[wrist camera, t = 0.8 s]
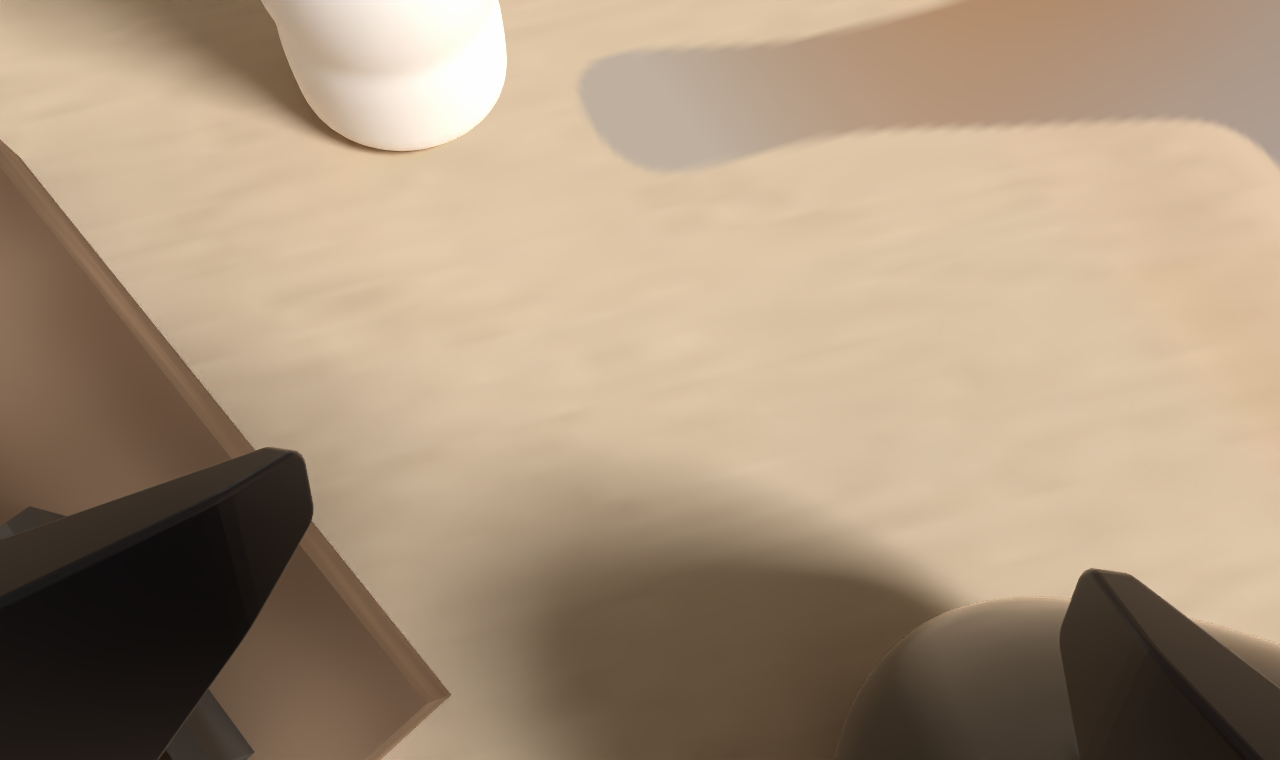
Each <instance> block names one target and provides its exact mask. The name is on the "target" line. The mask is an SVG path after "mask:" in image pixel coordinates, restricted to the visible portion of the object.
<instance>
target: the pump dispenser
mask: <svg viewBox="0 0 1280 760" xmlns="http://www.w3.org/2000/svg"><path fill="white" fill-rule="evenodd" d="M1070 601H1071V599H1070V598H1059V597H1012V598H1002V599H994V600H987V601H982V602H977V603H972V604H968V605H965V606H961V607H958V608H955V609H952V610H950V611H947V612H945V613H942V614H940V615H938V616H936V617H934V618H932V619H930V620H928V621H927V622H925V623H923V624H921V625H920V626H918V627H917V628H915V629H914V630H913V631H911V632H910V633H908V634H907V635H906V636H905V637H903V638H902V639H901V640H900V641H899V642H897V643H896V644H895V645H894V646H893V647H892V648H891V649H890V650H889V651H888V652H887V653H886V654H885V655H884V656H883V658H882V659H881V660H880V661H879V662H878V663H877V665H876V666H875V667H874V669H873V670H872V671H871V673H870V674H869V676H868V677H867V678H866V680H865V682H864V683H863V685H862V686H861V688H860V690H859V692H858V694H857V695H856V697H855V699H854V701H853V703H852V705H851V708H850V710H849V712H848V715H847V717H846V720H845V722H844V725H843V728H842V731H841V734H840V737H839V741H838V745H837V748H836V753H835V757H834V760H1080V759H1079V753H1078V748H1077V742H1076V736H1075V731H1074V725H1073V720H1072V714H1071V709H1070V703H1069V697H1068V692H1067V686H1066V681H1065V675H1064V670H1063V664H1062V658H1061V653H1060V646H1059V635H1060V628H1061V625H1062V622H1063V619H1064V616H1065V614H1066V611H1067V609H1068V606H1069V603H1070ZM1189 619H1190V620H1191V621H1193V622H1194V623H1195V624H1197V625H1198V626H1199V627H1201V628H1202V629H1203V630H1205V631H1206V632H1207V633H1209V634H1210V635H1211V636H1213V637H1214V638H1215V639H1217V640H1218V641H1219V642H1220V643H1222V644H1223V645H1224V646H1226V647H1227V648H1228V649H1230V650H1231V651H1232V652H1234V653H1235V654H1236V655H1238V656H1239V657H1240V658H1242V659H1243V660H1244V661H1246V662H1247V663H1248V664H1249V665H1251V666H1252V667H1253V668H1255V669H1256V670H1257V671H1259V672H1260V673H1261V674H1263V675H1264V676H1265V677H1267V678H1268V679H1269V680H1271V681H1272V682H1273V683H1275V684H1276V685H1277V686H1278V687H1280V644H1279V643H1276V642H1273V641H1269V640H1266V639H1263V638H1260V637H1257V636H1253V635H1250V634H1247V633H1243V632H1240V631H1237V630H1233V629H1230V628H1226V627H1223V626H1219V625H1215V624H1212V623H1208V622H1204V621H1200V620H1196V619H1192V618H1189Z"/></svg>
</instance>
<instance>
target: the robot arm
mask: <svg viewBox="0 0 1280 760" xmlns="http://www.w3.org/2000/svg"><path fill="white" fill-rule="evenodd" d="M312 516H313V501H312V496H311V491H310V485H309V480H308V475H307V470H306V464H305V461H304V458H303V457H302V455H301V454H300V453H298V452H297V451H294V450H287V449H280V448H274V447H265V448H262V449H259V450H256V451H253V452H250V453H247V454H244V455H242V456H239V457H236V458H233V459H230V460H227V461H224V462H222V463H219V464H216V465H213V466H210V467H207V468H204V469H201V470H199V471H196V472H193V473H190V474H187V475H184V476H181V477H178V478H176V479H173V480H170V481H167V482H164V483H161V484H158V485H156V486H153V487H150V488H147V489H144V490H141V491H138V492H135V493H133V494H130V495H127V496H124V497H121V498H118V499H115V500H113V501H110V502H107V503H104V504H101V505H98V506H95V507H92V508H90V509H87V510H84V511H81V512H78V513H75V514H72V515H69V516H67V517H64V518H61V519H58V520H55V521H52V522H49V523H47V524H44V525H41V526H38V527H35V528H32V529H29V530H26V531H24V532H21V533H18V534H15V535H12V536H9V537H6V538H3V539H1V540H0V760H158V759H159V758H160V756H161V755H162V754H163V752H164V751H165V749H166V748H167V747H168V745H169V744H170V742H171V741H172V739H173V738H174V737H175V735H176V734H177V732H178V731H179V730H180V728H181V727H182V725H183V724H184V723H185V721H186V720H187V718H188V717H189V715H190V714H191V713H192V711H193V710H194V708H195V707H196V706H197V704H198V703H199V701H200V700H201V699H202V697H203V696H204V694H205V693H206V691H207V690H208V689H209V687H210V686H211V684H212V683H213V682H214V680H215V679H216V677H217V676H218V675H219V673H220V672H221V670H222V669H223V668H224V666H225V665H226V663H227V662H228V660H229V659H230V658H231V656H232V655H233V653H234V652H235V651H236V649H237V648H238V646H239V645H240V643H241V642H242V640H243V639H244V637H245V636H246V634H247V633H248V631H249V630H250V628H251V627H252V625H253V623H254V622H255V620H256V618H257V617H258V615H259V614H260V612H261V610H262V608H263V607H264V605H265V603H266V601H267V600H268V598H269V596H270V594H271V593H272V591H273V589H274V587H275V586H276V584H277V582H278V580H279V579H280V577H281V575H282V573H283V571H284V570H285V568H286V566H287V564H288V563H289V561H290V559H291V557H292V556H293V554H294V552H295V550H296V549H297V547H298V545H299V543H300V542H301V540H302V538H303V536H304V535H305V533H306V531H307V529H308V527H309V525H310V523H311V520H312ZM1059 646H1060V653H1061V658H1062V664H1063V670H1064V675H1065V681H1066V686H1067V692H1068V697H1069V703H1070V709H1071V714H1072V720H1073V725H1074V731H1075V736H1076V742H1077V748H1078V753H1079V759H1080V760H1280V687H1278V686H1277V685H1276V684H1275V683H1273V682H1272V681H1271V680H1269V679H1268V678H1267V677H1265V676H1264V675H1263V674H1261V673H1260V672H1259V671H1257V670H1256V669H1255V668H1253V667H1252V666H1251V665H1249V664H1248V663H1247V662H1246V661H1244V660H1243V659H1242V658H1240V657H1239V656H1238V655H1236V654H1235V653H1234V652H1232V651H1231V650H1230V649H1228V648H1227V647H1226V646H1224V645H1223V644H1222V643H1220V642H1219V641H1218V640H1217V639H1215V638H1214V637H1213V636H1211V635H1210V634H1209V633H1207V632H1206V631H1205V630H1203V629H1202V628H1201V627H1199V626H1198V625H1197V624H1195V623H1194V622H1193V621H1191V620H1190V619H1189V618H1188V617H1186V616H1185V615H1184V614H1182V613H1181V612H1180V611H1178V610H1177V609H1176V608H1174V607H1173V606H1172V605H1170V604H1169V603H1168V602H1166V601H1165V600H1164V599H1162V598H1161V597H1160V596H1159V595H1157V594H1156V593H1155V592H1153V591H1152V590H1151V589H1149V588H1148V587H1147V586H1145V585H1144V584H1143V583H1141V582H1140V581H1139V580H1137V579H1136V578H1135V577H1133V576H1132V575H1129V574H1127V573H1121V572H1115V571H1108V570H1101V569H1094V568H1091V569H1088V570H1086V571H1084V572H1083V574H1082V575H1081V576H1080V578H1079V580H1078V583H1077V585H1076V588H1075V590H1074V593H1073V596H1072V598H1071V601H1070V603H1069V606H1068V609H1067V611H1066V614H1065V616H1064V619H1063V622H1062V625H1061V628H1060V635H1059Z"/></svg>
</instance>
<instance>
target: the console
mask: <svg viewBox="0 0 1280 760" xmlns="http://www.w3.org/2000/svg"><path fill="white" fill-rule="evenodd" d="M253 451H255V450H254V449H253V447H252V446H251V445H250V444H249V442H248V441H247V440H246V439H245V437H244V436H243V435H242V434H241V432H240V431H239V430H238V429H237V427H236V426H235V425H234V424H233V422H232V421H231V420H230V419H229V417H228V416H227V415H226V414H225V412H224V411H223V410H222V409H221V407H220V406H219V405H218V404H217V402H216V401H215V400H214V399H213V397H212V396H211V395H210V394H209V393H208V391H207V390H206V389H205V388H204V386H203V385H202V384H201V383H200V381H199V380H198V379H197V378H196V376H195V375H194V374H193V373H192V371H191V370H190V369H189V368H188V366H187V365H186V364H185V363H184V361H183V360H182V359H181V358H180V356H179V355H178V354H177V353H176V351H175V350H174V349H173V348H172V346H171V345H170V344H169V343H168V341H167V340H166V339H165V338H164V336H163V335H162V334H161V333H160V331H159V330H158V329H157V328H156V326H155V325H154V324H153V323H152V321H151V320H150V319H149V318H148V317H147V315H146V314H145V313H144V312H143V310H142V309H141V308H140V307H139V305H138V304H137V303H136V302H135V300H134V299H133V298H132V297H131V295H130V294H129V293H128V292H127V290H126V289H125V288H124V287H123V285H122V284H121V283H120V282H119V280H118V279H117V278H116V277H115V275H114V274H113V273H112V272H111V270H110V269H109V268H108V267H107V265H106V264H105V263H104V262H103V260H102V259H101V258H100V257H99V255H98V254H97V253H96V252H95V250H94V249H93V248H92V247H91V245H90V244H89V243H88V242H87V241H86V239H85V238H84V237H83V236H82V234H81V233H80V232H79V231H78V229H77V228H76V227H75V226H74V224H73V223H72V222H71V221H70V219H69V218H68V217H67V216H66V214H65V213H64V212H63V211H62V209H61V208H60V207H59V206H58V204H57V203H56V202H55V201H54V199H53V198H52V197H51V196H50V194H49V193H48V192H47V191H46V189H45V188H44V187H43V186H42V184H41V183H40V182H39V181H38V179H37V178H36V177H35V176H34V174H33V173H32V172H31V171H30V169H29V168H28V167H27V166H26V165H25V163H24V162H23V161H22V160H21V158H20V157H19V156H18V155H17V154H15V153H14V152H13V151H12V150H11V149H10V148H9V147H8V146H7V145H6V144H4V143H3V142H2V141H1V140H0V540H1V539H3V538H6V537H9V536H12V535H15V534H18V533H21V532H24V531H26V530H29V529H32V528H35V527H38V526H41V525H44V524H47V523H49V522H52V521H55V520H58V519H61V518H64V517H67V516H69V515H72V514H75V513H78V512H81V511H84V510H87V509H90V508H92V507H95V506H98V505H101V504H104V503H107V502H110V501H113V500H115V499H118V498H121V497H124V496H127V495H130V494H133V493H135V492H138V491H141V490H144V489H147V488H150V487H153V486H156V485H158V484H161V483H164V482H167V481H170V480H173V479H176V478H178V477H181V476H184V475H187V474H190V473H193V472H196V471H199V470H201V469H204V468H207V467H210V466H213V465H216V464H219V463H222V462H224V461H227V460H230V459H233V458H236V457H239V456H242V455H244V454H247V453H250V452H253ZM450 695H451V694H450V693H449V692H448V690H447V689H446V688H445V687H444V685H443V684H442V683H441V682H440V680H439V679H438V678H437V677H436V675H435V674H434V673H433V672H432V670H431V669H430V668H429V667H428V665H427V664H426V663H425V662H424V660H423V659H422V658H421V657H420V655H419V654H418V653H417V652H416V650H415V649H414V648H413V647H412V645H411V644H410V643H409V642H408V640H407V639H406V638H405V637H404V635H403V634H402V633H401V632H400V630H399V629H398V628H397V627H396V625H395V624H394V623H393V622H392V620H391V619H390V618H389V617H388V616H387V614H386V613H385V612H384V611H383V609H382V608H381V607H380V606H379V604H378V603H377V602H376V601H375V599H374V598H373V597H372V596H371V594H370V593H369V592H368V591H367V589H366V588H365V587H364V586H363V584H362V583H361V582H360V581H359V579H358V578H357V577H356V576H355V574H354V573H353V572H352V571H351V569H350V568H349V567H348V566H347V564H346V563H345V562H344V561H343V559H342V558H341V557H340V556H339V554H338V553H337V552H336V551H335V549H334V548H333V547H332V546H331V544H330V543H329V542H328V541H327V540H326V538H325V537H324V536H323V535H322V533H321V532H320V531H319V530H318V528H317V527H316V526H315V525H314V523H313V522H312V521H311V523H310V525H309V527H308V529H307V531H306V533H305V535H304V536H303V538H302V540H301V542H300V543H299V545H298V547H297V549H296V550H295V552H294V554H293V556H292V557H291V559H290V561H289V563H288V564H287V566H286V568H285V570H284V571H283V573H282V575H281V577H280V579H279V580H278V582H277V584H276V586H275V587H274V589H273V591H272V593H271V594H270V596H269V598H268V600H267V601H266V603H265V605H264V607H263V608H262V610H261V612H260V614H259V615H258V617H257V618H256V620H255V622H254V623H253V625H252V627H251V628H250V630H249V631H248V633H247V634H246V636H245V637H244V639H243V640H242V642H241V643H240V645H239V646H238V648H237V649H236V651H235V652H234V653H233V655H232V656H231V658H230V659H229V660H228V662H227V663H226V665H225V666H224V668H223V669H222V670H221V672H220V673H219V675H218V676H217V677H216V679H215V680H214V682H213V683H212V684H211V686H210V687H209V689H208V690H207V691H206V693H205V694H204V696H203V697H202V699H201V700H200V701H199V703H198V704H197V706H196V707H195V708H194V710H193V711H192V713H191V714H190V715H189V717H188V718H187V720H186V721H185V723H184V724H183V725H182V727H181V728H180V730H179V731H178V732H177V734H176V735H175V737H174V738H173V739H172V741H171V742H170V744H169V745H168V747H167V748H166V749H165V751H164V752H163V754H162V755H161V756H160V758H159V759H158V760H380V759H382V758H383V757H384V756H385V755H386V754H387V753H388V752H389V751H390V750H391V749H392V748H394V747H395V746H396V745H397V744H398V743H399V742H400V741H401V740H402V739H403V738H404V737H405V736H407V735H408V734H409V733H410V732H411V731H412V730H413V729H414V728H415V727H416V726H417V725H419V724H420V723H421V722H422V721H423V720H424V719H425V718H426V717H427V716H428V715H429V714H430V713H432V712H433V711H434V710H435V709H436V708H437V707H438V706H439V705H440V704H441V703H442V702H444V701H445V700H446V699H447V698H448V697H449V696H450Z"/></svg>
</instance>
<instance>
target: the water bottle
mask: <svg viewBox="0 0 1280 760" xmlns="http://www.w3.org/2000/svg"><path fill="white" fill-rule="evenodd" d="M261 2H262V3H263V5H264V7H265V8H266V10H267V11H268V13H269V14H270V16H271V17H272V19H273V20H274V21H275V23H276V26H277V30H278V34H279V37H280V41H281V44H282V47H283V49H284V52H285V55H286V58H287V60H288V63H289V65H290V68H291V70H292V72H293V75H294V77H295V79H296V81H297V83H298V85H299V87H300V90H301V92H302V94H303V95H304V97H305V99H306V101H307V102H308V104H309V105H310V107H311V108H312V109H313V111H314V112H315V113H316V114H317V116H318V117H319V118H320V119H321V120H322V121H323V122H324V123H326V124H327V125H328V126H329V127H330V128H331V129H333V130H334V131H336V132H337V133H339V134H341V135H342V136H344V137H346V138H348V139H350V140H352V141H354V142H357V143H359V144H362V145H365V146H369V147H373V148H377V149H383V150H392V151H413V150H421V149H427V148H431V147H435V146H439V145H442V144H445V143H447V142H450V141H452V140H454V139H456V138H458V137H460V136H462V135H463V134H465V133H467V132H468V131H470V130H471V129H472V128H474V127H475V126H476V125H477V124H479V123H480V122H481V121H482V120H483V119H484V118H485V117H486V115H487V114H488V113H489V112H490V111H491V109H492V108H493V106H494V105H495V103H496V101H497V100H498V98H499V96H500V93H501V91H502V88H503V85H504V81H505V75H506V66H507V57H506V44H505V36H504V28H503V22H502V16H501V11H500V6H499V2H498V0H261Z"/></svg>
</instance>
